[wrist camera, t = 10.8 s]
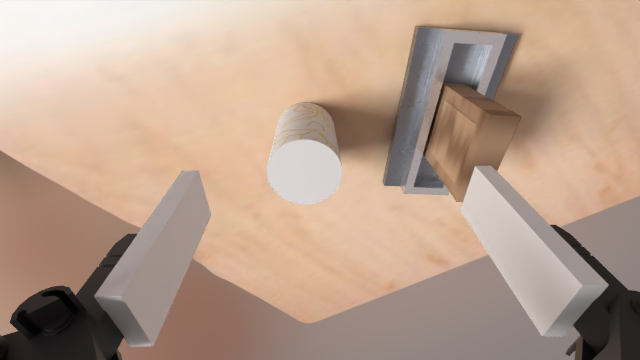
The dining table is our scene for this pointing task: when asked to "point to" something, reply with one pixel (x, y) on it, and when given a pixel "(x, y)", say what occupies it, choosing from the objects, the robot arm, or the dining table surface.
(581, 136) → the dining table surface
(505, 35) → the track
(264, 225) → the dining table surface
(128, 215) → the dining table surface
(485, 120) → the door panel
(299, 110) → the yellow-veined white cylinder
